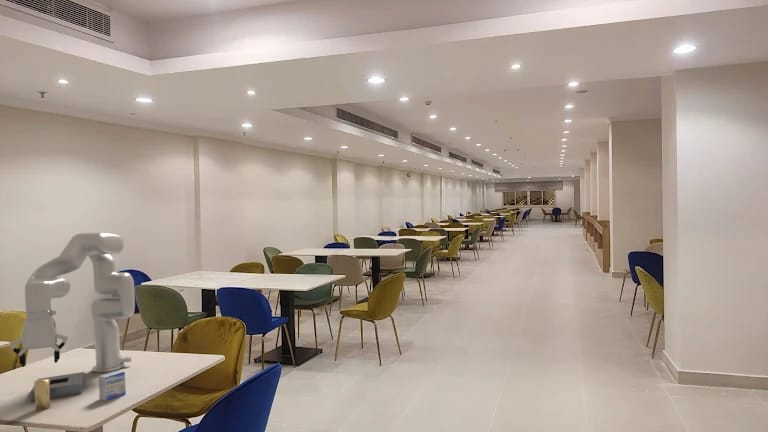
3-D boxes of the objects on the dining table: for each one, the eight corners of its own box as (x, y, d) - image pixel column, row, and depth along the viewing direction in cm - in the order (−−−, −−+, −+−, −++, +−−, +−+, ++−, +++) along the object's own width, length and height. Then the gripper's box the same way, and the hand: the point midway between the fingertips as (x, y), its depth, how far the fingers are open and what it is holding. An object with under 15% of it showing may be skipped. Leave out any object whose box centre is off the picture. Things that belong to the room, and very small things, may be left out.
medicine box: (105, 401, 188) (104, 377, 188) (99, 399, 190) (97, 375, 190) (126, 394, 194) (125, 371, 194) (119, 392, 197) (118, 369, 197)
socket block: (84, 381, 211) (84, 371, 211) (81, 393, 196) (80, 383, 196) (38, 388, 204) (38, 378, 204) (31, 401, 189) (30, 391, 189)
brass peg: (51, 405, 186) (49, 377, 185) (49, 409, 182) (48, 381, 181) (36, 407, 184) (35, 379, 183) (34, 411, 180) (33, 383, 179)
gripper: (68, 311, 189) (69, 357, 189) (11, 316, 181) (12, 365, 181) (65, 314, 182) (67, 362, 182) (6, 320, 175) (8, 370, 175)
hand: (40, 363), depth 182 cm, fingers open, 9 cm apart
